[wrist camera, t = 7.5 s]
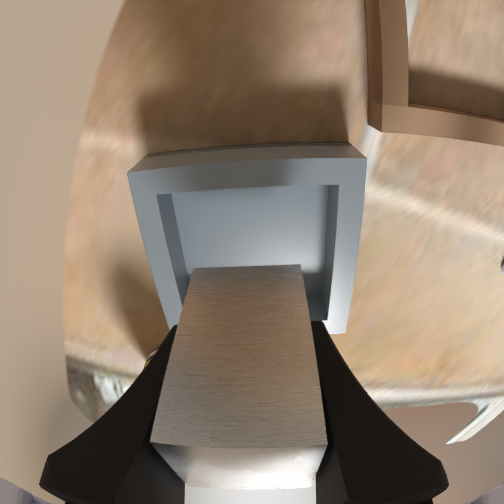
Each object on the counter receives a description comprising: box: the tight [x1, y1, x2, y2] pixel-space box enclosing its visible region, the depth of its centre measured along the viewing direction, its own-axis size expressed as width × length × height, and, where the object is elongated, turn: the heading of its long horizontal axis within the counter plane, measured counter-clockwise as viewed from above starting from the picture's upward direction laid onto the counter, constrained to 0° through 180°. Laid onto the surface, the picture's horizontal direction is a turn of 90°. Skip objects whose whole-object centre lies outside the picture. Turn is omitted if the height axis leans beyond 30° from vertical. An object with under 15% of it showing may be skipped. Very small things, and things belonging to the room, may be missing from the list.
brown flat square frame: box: [364, 0, 504, 147], centre depth 10 cm, size 12×12×2 cm
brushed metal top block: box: [150, 264, 328, 489], centre depth 10 cm, size 4×4×7 cm
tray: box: [127, 142, 367, 334], centre depth 17 cm, size 10×10×3 cm
